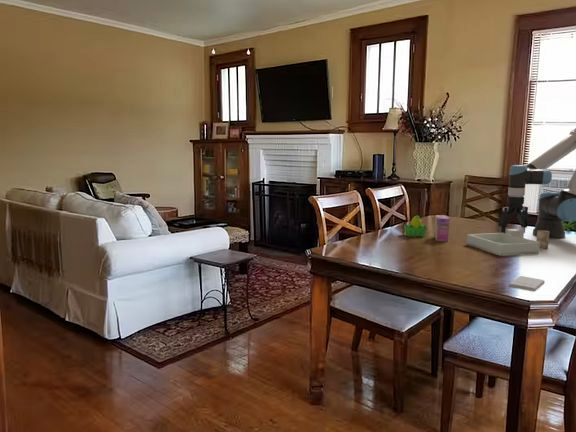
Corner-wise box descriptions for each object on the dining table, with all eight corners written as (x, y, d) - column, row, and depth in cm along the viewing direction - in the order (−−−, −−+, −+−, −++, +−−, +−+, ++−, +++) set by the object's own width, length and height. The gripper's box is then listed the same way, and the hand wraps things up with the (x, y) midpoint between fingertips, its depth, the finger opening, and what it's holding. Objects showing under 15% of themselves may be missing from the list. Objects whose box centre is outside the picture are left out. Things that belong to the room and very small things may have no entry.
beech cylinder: (542, 246, 221) (543, 230, 220) (550, 248, 216) (551, 231, 215) (533, 247, 220) (534, 230, 219) (541, 249, 215) (543, 232, 214)
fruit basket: (425, 234, 250) (426, 214, 248) (427, 237, 241) (428, 216, 239) (403, 233, 252) (404, 213, 250) (404, 237, 243) (405, 215, 241)
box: (448, 241, 231) (449, 218, 229) (436, 241, 232) (437, 218, 231) (445, 237, 241) (446, 215, 240) (434, 237, 242) (435, 215, 241)
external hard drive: (544, 284, 163) (534, 292, 154) (519, 279, 168) (508, 287, 159) (544, 280, 163) (535, 287, 153) (519, 275, 168) (508, 282, 159)
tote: (501, 242, 230) (502, 232, 229) (539, 253, 207) (540, 242, 206) (466, 244, 225) (467, 234, 224) (501, 255, 202) (501, 244, 201)
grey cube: (513, 239, 238) (514, 228, 237) (521, 241, 233) (521, 230, 232) (504, 239, 237) (504, 229, 236) (511, 242, 232) (512, 231, 231)
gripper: (528, 194, 238) (525, 237, 241) (492, 195, 232) (488, 239, 236) (540, 196, 231) (536, 240, 234) (502, 197, 225) (499, 242, 229)
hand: (512, 240), depth 235 cm, fingers open, 9 cm apart
